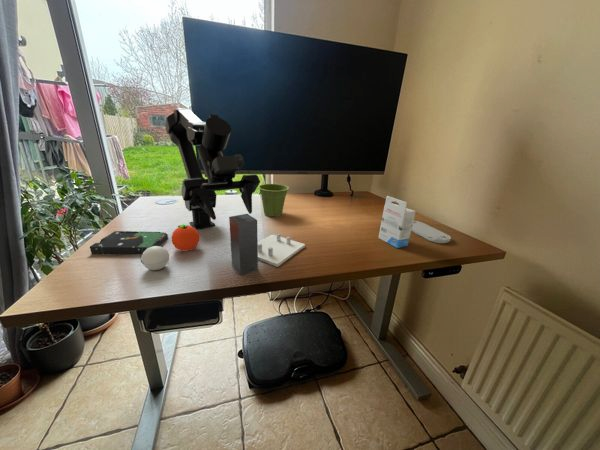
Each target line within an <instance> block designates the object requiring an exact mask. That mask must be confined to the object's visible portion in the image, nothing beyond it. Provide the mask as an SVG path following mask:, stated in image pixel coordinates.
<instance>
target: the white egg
mask: <svg viewBox="0 0 600 450" xmlns="http://www.w3.org/2000/svg"><path fill="white" fill-rule="evenodd" d="M140 259H141V260H140V262H141V263H142V265H143V266H144V267H145V268H146V269H148V270H151V271H158V270H161V269H163V268H164V267H166V265H168V263H169V261H170V254H169V252H168V250H167V249H166V248H164V247H162V245H161V246H152V247H150V248H147V249H146V250H145V251H144V252H143V254H142V255H141V257H140Z"/></svg>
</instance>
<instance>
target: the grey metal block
mask: <svg viewBox="0 0 600 450" xmlns="http://www.w3.org/2000/svg"><path fill="white" fill-rule="evenodd" d="M228 221H229V237H230V239H229V240H230V251H231V253H230V254H231V255H230V256H231V266H232V267H233V269H235V271H236V272H237V273H238V275H240V276H244V275H246V274H249V273H253V272H256V271H258V270H259V263H258V262H259V260H258V242H259V241H258V219H256V218H255V217H253V216H251V214H249V213H245V214H244V213H242V214H237V215H230V216H228Z"/></svg>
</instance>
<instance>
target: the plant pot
mask: <svg viewBox="0 0 600 450" xmlns="http://www.w3.org/2000/svg"><path fill="white" fill-rule="evenodd" d="M257 188H258V189H259V192H260V196H261V201H262V202H261V203H262V208H263V214H264V215H265V216H266V217H270V218H271V217H277V218H278V217H280V216H282V215H283V212H284V211H283V210H284V207H285V201H286V197H287V193H288V190H289V188H290V187H289V186H287V185H285V184H279V183H264V184H259V185H258V187H257Z"/></svg>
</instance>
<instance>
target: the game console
mask: <svg viewBox="0 0 600 450" xmlns="http://www.w3.org/2000/svg"><path fill="white" fill-rule="evenodd" d="M411 233H414V234H416V235H418V236H419V237H421V238H424V239H425V240H426V241H429V242H432V243H435V244H441V245H442V244H447V243H449V242H450V241H451V240H452V238H451V236H450V235H449V234H447V233H445V232H443V231H441V230H439V229H436V228H435V227H433V226H430V225H428V224H427V223H424V222H423V221H418V220H414V221H413V225H412V229H411Z"/></svg>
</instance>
